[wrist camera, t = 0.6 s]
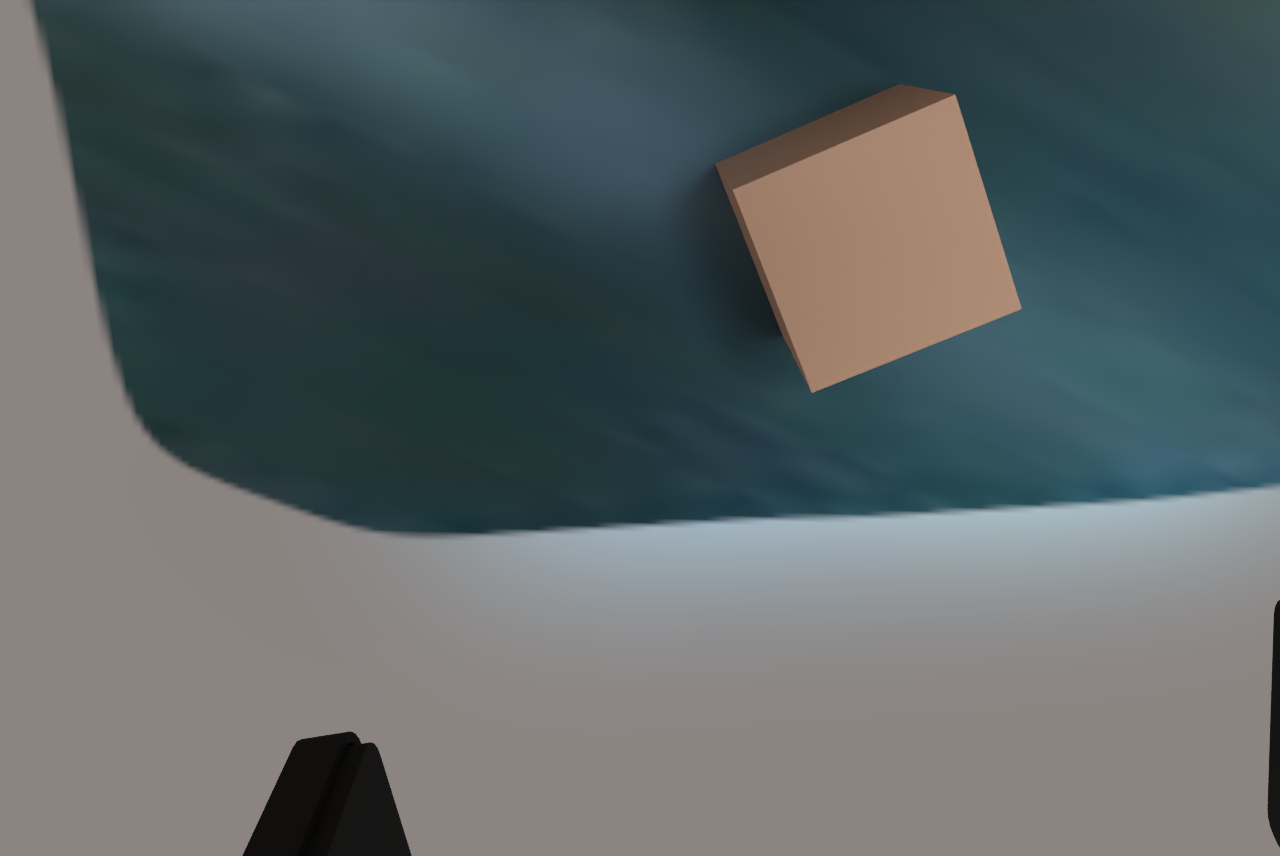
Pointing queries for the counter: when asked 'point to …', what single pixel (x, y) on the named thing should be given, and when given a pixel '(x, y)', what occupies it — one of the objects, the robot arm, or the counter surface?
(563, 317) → the counter surface
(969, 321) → the terracotta cube
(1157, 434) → the counter surface
